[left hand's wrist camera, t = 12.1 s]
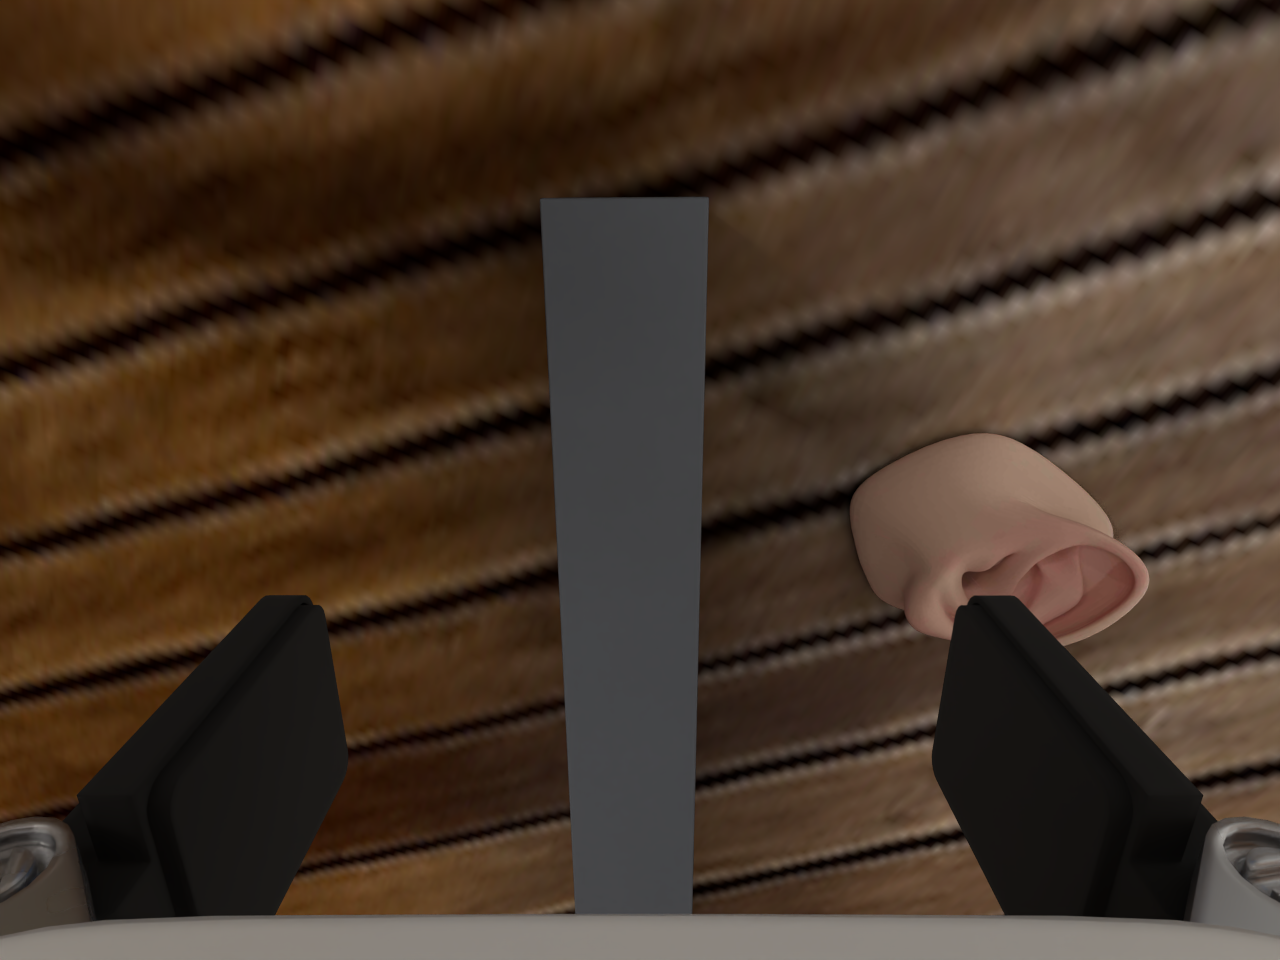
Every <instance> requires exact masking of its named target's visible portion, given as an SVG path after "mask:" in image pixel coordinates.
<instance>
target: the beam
mask: <svg viewBox="0 0 1280 960" xmlns="http://www.w3.org/2000/svg"><path fill="white" fill-rule="evenodd" d="M540 213H541V233H542V253H543V274H544V294H545V314H546V334H547V354H548V374H549V394H550V414H551V434H552V454H553V474H554V494H555V514H556V534H557V554H558V574H559V594H560V614H561V634H562V655H563V675H564V695H565V715H566V735H567V755H568V775H569V795H570V815H571V835H572V855H573V875H574V895H575V914H692V898H693V855H694V812H695V770H696V727H697V684H698V642H699V599H700V556H701V514H702V471H703V428H704V385H705V343H706V300H707V257H708V215H709V198H708V197H602V198H541V199H540Z"/></svg>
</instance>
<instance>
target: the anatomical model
mask: <svg viewBox="0 0 1280 960" xmlns="http://www.w3.org/2000/svg"><path fill="white" fill-rule="evenodd" d="M850 521H851V529H852V533H853V538H854V542H855V546H856V550H857V554H858V558H859V561H860V564H861V566H862V568H863V571H864V573H865V575H866V577H867V580H868V582H869V584H870V586H871V588H872V590H873V591H874V592H875V594H876V595H877V596H878V597H879V598H880V599H881V600H883V601H884V602H886V603H888V604H890V605H892V606H894V607H896V608H899V609H902V610H904V611H905V615H906V618H907V620H908V622H909V623H910V625H911V626H912V627H913V628H914V629H916V630H917V631H919V632H921V633H923V634H927V635H930V636H934V637H938V638H943V639H947V640H951V636H952V630H953V624H954V618H955V614H956V610H957V608H958V607H959V606H960V605H967V603H968V601H969V600H970V598H971V597H972V596H974V595H1011V596H1015V597H1017V598H1018V599H1019V600H1020V601H1021V602H1022V603H1023V604H1024V605H1025V606H1026V607H1027V608H1028V609H1029V610H1030V611H1031V612H1032V613H1033V615H1034V616H1035V617H1036V618H1037V619H1038V620H1039V621H1040V622H1041V623H1042V624H1043V625H1044V626H1045V627H1046V628H1047V629H1048V631H1049V632H1050V633H1051V634H1052V635H1053V636H1054V637H1055V638H1056V639H1057V640H1058V641H1059V642H1060V643H1061V644H1062V645H1063V646H1065V645H1068V644H1071V643H1074V642H1077V641H1080V640H1083V639H1085V638H1087V637H1090V636H1092V635H1094V634H1096V633H1098V632H1100V631H1102V630H1103V629H1105V628H1107V627H1108V626H1110V625H1111V624H1113V623H1114V622H1116V621H1117V620H1119V619H1120V618H1121V617H1122V616H1124V615H1125V614H1126V613H1128V612H1129V611H1130V610H1131V609H1132V608H1133V607H1134V606H1135V605H1136V604H1137V603H1138V602H1139V601H1140V599H1141V598H1142V597H1143V595H1144V594H1145V592H1146V590H1147V588H1148V584H1149V574H1148V571H1147V568H1146V566H1145V565H1144V563H1143V562H1142V560H1141V559H1140V558H1139V557H1138V556H1137V555H1136V554H1135V553H1134V552H1133V551H1131V550H1130V549H1129V548H1127V547H1126V546H1125V545H1123V544H1122V543H1120V542H1119V541H1117V540H1115V539H1114V538H1113V529H1112V525H1111V523H1110V520H1109V519H1108V517H1107V515H1106V514H1105V512H1104V511H1103V510H1102V508H1101V507H1100V506H1099V505H1098V503H1097V502H1096V501H1095V500H1094V499H1093V498H1092V497H1091V496H1090V495H1089V494H1088V493H1087V492H1086V491H1085V490H1084V489H1083V488H1082V487H1081V486H1079V485H1078V484H1077V483H1076V482H1075V481H1074V480H1073V479H1071V478H1070V477H1069V476H1068V475H1067V474H1065V473H1064V472H1063V471H1062V470H1060V469H1059V468H1058V467H1057V466H1055V465H1054V464H1053V463H1051V462H1050V461H1049V460H1047V459H1046V458H1044V457H1043V456H1042V455H1040V454H1039V453H1037V452H1036V451H1034V450H1032V449H1031V448H1029V447H1027V446H1025V445H1024V444H1022V443H1020V442H1018V441H1016V440H1013V439H1011V438H1008V437H1005V436H1001V435H997V434H989V433H975V434H967V435H961V436H957V437H953V438H949V439H946V440H942V441H939V442H937V443H934V444H931V445H929V446H926V447H924V448H921V449H919V450H917V451H915V452H913V453H910V454H908V455H906V456H904V457H902V458H900V459H899V460H897V461H895V462H893V463H891V464H889V465H887V466H886V467H884V468H882V469H881V470H879V471H878V472H876V473H874V474H873V475H872V476H870V477H869V478H868V479H866V480H865V481H864V482H863V483H862V484H861V485H860V486H859V487H858V489H857V490H856V491H855V493H854V495H853V497H852V500H851V503H850Z"/></svg>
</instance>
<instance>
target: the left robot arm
mask: <svg viewBox="0 0 1280 960" xmlns="http://www.w3.org/2000/svg"><path fill="white" fill-rule="evenodd" d="M347 765H348V750H347V744H346V738H345V732H344V726H343V720H342V714H341V708H340V702H339V696H338V690H337V684H336V678H335V672H334V666H333V660H332V654H331V648H330V642H329V636H328V630H327V624H326V618H325V614H324V610H323V608H322V607H321V606H320V605H313V603H312V601H311V600H310V598H309V597H308V596H306V595H269V596H265V597H263V598H262V599H261V600H260V601H259V602H258V603H257V604H256V605H255V606H254V607H253V608H252V609H251V610H250V611H249V612H248V613H247V615H246V616H245V617H244V618H243V619H242V620H241V621H240V622H239V623H238V624H237V625H236V626H235V627H234V628H233V629H232V631H231V632H230V633H229V634H228V635H227V636H226V637H225V638H224V639H223V640H222V641H221V642H220V643H219V644H218V645H217V646H216V648H215V649H214V650H213V651H212V652H211V653H210V654H209V655H208V656H207V657H206V658H205V659H204V660H203V661H202V662H201V664H200V665H199V666H198V667H197V668H196V669H195V670H194V671H193V672H192V673H191V674H190V675H189V676H188V677H187V678H186V679H185V681H184V682H183V683H182V684H181V685H180V686H179V687H178V688H177V689H176V690H175V691H174V692H173V693H172V694H171V695H170V697H169V698H168V699H167V700H166V701H165V702H164V703H163V704H162V705H161V706H160V707H159V708H158V709H157V710H156V711H155V712H154V714H153V715H152V716H151V717H150V718H149V719H148V720H147V721H146V722H145V723H144V724H143V725H142V726H141V727H140V728H139V730H138V731H137V732H136V733H135V734H134V735H133V736H132V737H131V738H130V739H129V740H128V741H127V742H126V743H125V744H124V746H123V747H122V748H121V749H120V750H119V751H118V752H117V753H116V754H115V755H114V756H113V757H112V758H111V759H110V760H109V761H108V763H107V764H106V765H105V766H104V767H103V768H102V769H101V770H100V771H99V772H98V773H97V774H96V775H95V776H94V777H93V779H92V780H91V781H90V782H89V783H88V784H87V785H86V786H85V787H84V788H83V789H82V790H81V791H80V792H79V793H78V794H77V797H78V800H79V804H78V805H77V806H76V807H75V808H74V809H73V810H72V811H71V813H70V814H69V815H68V816H67V817H66V818H65V819H64V820H63V821H60V820H58V819H56V818H46V817H31V818H24V819H18V820H12V821H9V822H6V823H2V824H0V960H1280V824H1278V823H1274V822H1271V821H1268V820H1262V819H1256V818H1249V817H1234V818H1224V819H1222V820H1220V821H1217V820H1216V819H1215V818H1214V817H1213V816H1212V815H1211V814H1210V813H1209V811H1208V810H1207V809H1206V808H1205V807H1204V806H1203V805H1202V804H1201V800H1202V797H1203V794H1202V793H1201V792H1200V791H1199V790H1198V789H1197V788H1196V787H1195V786H1194V785H1193V784H1192V783H1191V782H1190V781H1189V780H1188V779H1187V777H1186V776H1185V775H1184V774H1183V773H1182V772H1181V771H1180V770H1179V769H1178V768H1177V767H1176V766H1175V765H1174V764H1173V763H1172V761H1171V760H1170V759H1169V758H1168V757H1167V756H1166V755H1165V754H1164V753H1163V752H1162V751H1161V750H1160V749H1159V748H1158V747H1157V746H1156V744H1155V743H1154V742H1153V741H1152V740H1151V739H1150V738H1149V737H1148V736H1147V735H1146V734H1145V733H1144V732H1143V731H1142V730H1141V728H1140V727H1139V726H1138V725H1137V724H1136V723H1135V722H1134V721H1133V720H1132V719H1131V718H1130V717H1129V716H1128V715H1127V714H1126V712H1125V711H1124V710H1123V709H1122V708H1121V707H1120V706H1119V705H1118V704H1117V703H1116V702H1115V701H1114V700H1113V699H1112V698H1111V697H1110V695H1109V694H1108V693H1107V692H1106V691H1105V690H1104V689H1103V688H1102V687H1101V686H1100V685H1099V684H1098V683H1097V682H1096V681H1095V679H1094V678H1093V677H1092V676H1091V675H1090V674H1089V673H1088V672H1087V671H1086V670H1085V669H1084V668H1083V667H1082V666H1081V665H1080V664H1079V662H1078V661H1077V660H1076V659H1075V658H1074V657H1073V656H1072V655H1071V654H1070V653H1069V652H1068V651H1067V650H1066V649H1065V648H1064V646H1063V645H1062V644H1061V643H1060V642H1059V641H1058V640H1057V639H1056V638H1055V637H1054V636H1053V635H1052V634H1051V633H1050V632H1049V631H1048V629H1047V628H1046V627H1045V626H1044V625H1043V624H1042V623H1041V622H1040V621H1039V620H1038V619H1037V618H1036V617H1035V616H1034V615H1033V613H1032V612H1031V611H1030V610H1029V609H1028V608H1027V607H1026V606H1025V605H1024V604H1023V603H1022V602H1021V601H1020V600H1019V599H1018V598H1017V597H1015V596H1011V595H974V596H972V597H971V598H970V600H969V601H968V603H967V605H960V606H959V607H958V608H957V610H956V614H955V618H954V624H953V630H952V636H951V642H950V648H949V654H948V660H947V666H946V672H945V678H944V684H943V690H942V696H941V702H940V708H939V714H938V720H937V726H936V732H935V738H934V744H933V750H932V765H933V771H934V775H935V777H936V780H937V782H938V784H939V786H940V788H941V790H942V792H943V794H944V796H945V798H946V800H947V802H948V804H949V806H950V808H951V810H952V812H953V813H954V815H955V817H956V819H957V821H958V823H959V825H960V827H961V829H962V831H963V833H964V835H965V837H966V839H967V841H968V843H969V845H970V847H971V849H972V851H973V853H974V855H975V857H976V859H977V861H978V863H979V865H980V867H981V869H982V871H983V873H984V875H985V877H986V879H987V881H988V882H989V884H990V886H991V888H992V890H993V892H994V894H995V896H996V898H997V900H998V902H999V904H1000V906H1001V908H1002V910H1003V912H1004V914H1005V915H830V914H450V915H275V914H276V912H277V910H278V908H279V906H280V904H281V902H282V900H283V898H284V896H285V894H286V892H287V890H288V888H289V886H290V884H291V882H292V881H293V879H294V877H295V875H296V873H297V871H298V869H299V867H300V865H301V863H302V861H303V859H304V857H305V855H306V853H307V851H308V849H309V847H310V845H311V843H312V841H313V839H314V837H315V835H316V833H317V831H318V829H319V827H320V825H321V823H322V821H323V819H324V817H325V815H326V813H327V812H328V810H329V808H330V806H331V804H332V802H333V800H334V798H335V796H336V794H337V792H338V790H339V788H340V786H341V784H342V782H343V780H344V777H345V775H346V771H347Z"/></svg>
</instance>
